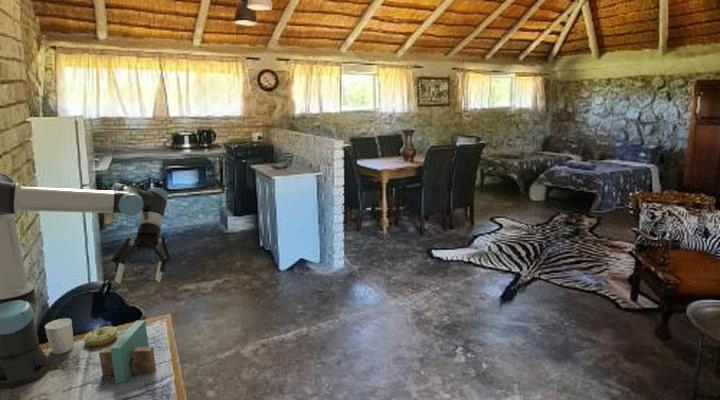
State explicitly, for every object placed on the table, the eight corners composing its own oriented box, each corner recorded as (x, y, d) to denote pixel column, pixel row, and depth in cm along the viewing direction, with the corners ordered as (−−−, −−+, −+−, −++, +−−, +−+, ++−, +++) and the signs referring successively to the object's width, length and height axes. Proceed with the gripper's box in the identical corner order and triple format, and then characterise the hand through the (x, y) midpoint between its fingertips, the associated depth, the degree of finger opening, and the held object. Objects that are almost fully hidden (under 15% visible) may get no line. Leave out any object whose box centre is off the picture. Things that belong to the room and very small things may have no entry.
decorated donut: (88, 337, 174) (86, 327, 173) (119, 331, 177) (118, 322, 176) (81, 350, 164) (80, 341, 163) (115, 344, 168) (114, 335, 167)
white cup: (80, 343, 169) (76, 318, 166) (65, 355, 161) (60, 329, 159) (60, 343, 169) (55, 318, 167) (44, 354, 162) (39, 328, 160)
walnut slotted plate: (102, 375, 149) (98, 352, 147) (106, 370, 151) (102, 348, 149) (152, 373, 149) (149, 350, 147) (155, 368, 152) (152, 346, 150)
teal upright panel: (140, 352, 162) (136, 320, 159) (149, 351, 162) (145, 320, 159) (116, 383, 144) (110, 348, 142) (125, 382, 144) (120, 348, 142)
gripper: (187, 230, 173) (178, 284, 161) (120, 233, 172) (105, 286, 161) (181, 220, 166) (170, 275, 155) (111, 223, 166) (95, 278, 154)
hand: (137, 281), depth 158 cm, fingers open, 13 cm apart
